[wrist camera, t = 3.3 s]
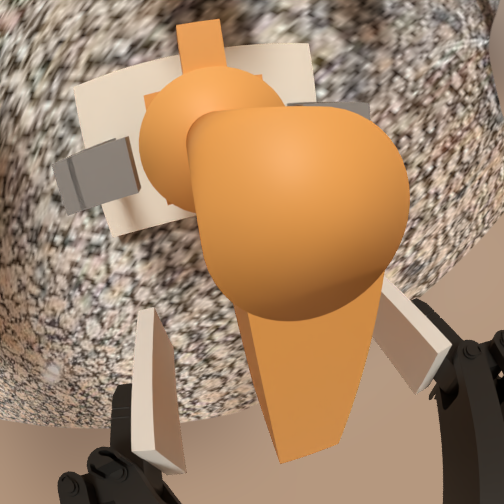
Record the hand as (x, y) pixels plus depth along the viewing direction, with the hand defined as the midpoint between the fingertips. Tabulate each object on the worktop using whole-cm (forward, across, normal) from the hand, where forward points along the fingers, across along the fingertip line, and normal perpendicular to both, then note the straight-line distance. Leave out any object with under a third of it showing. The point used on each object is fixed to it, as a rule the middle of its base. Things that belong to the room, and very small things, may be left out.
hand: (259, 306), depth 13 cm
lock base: (+15, 0, +7) cm, 16 cm away
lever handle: (+10, 0, +5) cm, 12 cm away
